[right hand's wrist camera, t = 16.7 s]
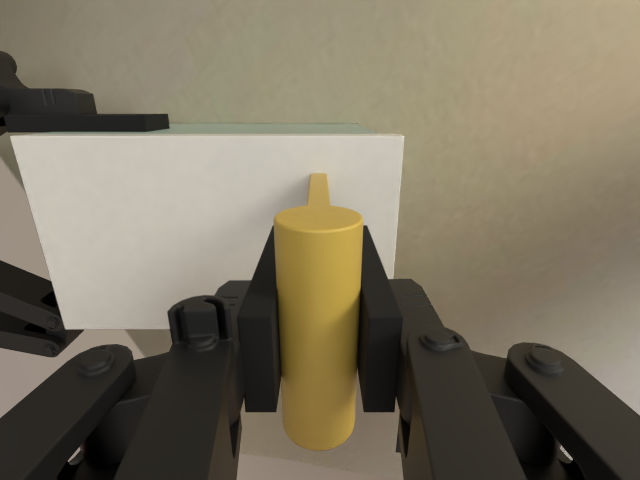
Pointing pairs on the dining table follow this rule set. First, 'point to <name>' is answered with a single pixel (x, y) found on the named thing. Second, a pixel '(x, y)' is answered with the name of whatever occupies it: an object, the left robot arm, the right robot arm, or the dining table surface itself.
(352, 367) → the lid
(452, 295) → the dining table surface
